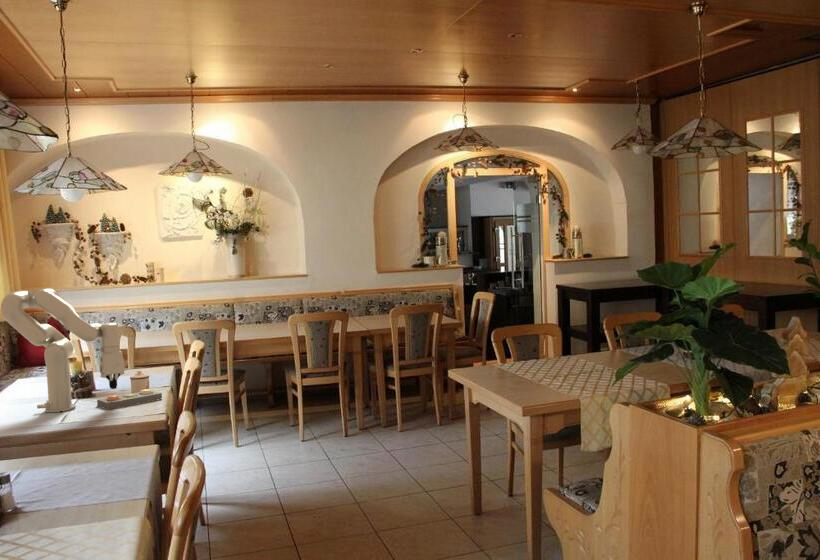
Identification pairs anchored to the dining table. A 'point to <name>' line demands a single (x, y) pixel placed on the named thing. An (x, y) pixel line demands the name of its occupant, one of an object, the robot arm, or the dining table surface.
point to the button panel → (128, 400)
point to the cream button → (145, 391)
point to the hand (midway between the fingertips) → (113, 388)
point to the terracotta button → (113, 397)
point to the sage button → (129, 395)
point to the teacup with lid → (139, 382)
